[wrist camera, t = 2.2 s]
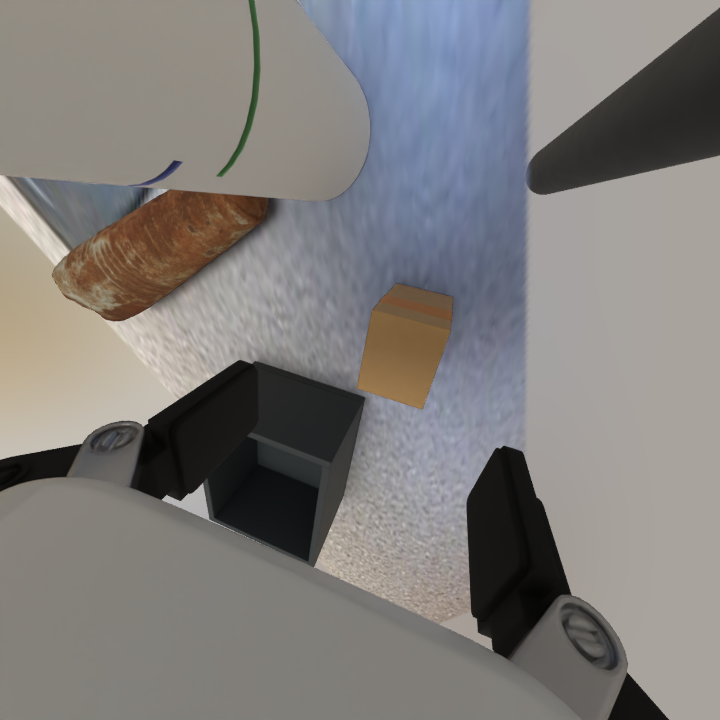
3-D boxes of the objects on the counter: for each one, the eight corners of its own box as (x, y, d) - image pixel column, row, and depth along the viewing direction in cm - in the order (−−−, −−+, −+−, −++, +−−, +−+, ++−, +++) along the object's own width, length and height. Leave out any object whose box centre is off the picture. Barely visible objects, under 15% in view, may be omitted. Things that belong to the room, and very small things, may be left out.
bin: (255, 361, 27) (189, 408, 20) (365, 397, 25) (331, 463, 18) (257, 460, 34) (209, 519, 28) (343, 495, 32) (313, 568, 25)
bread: (108, 251, 27) (31, 259, 22) (256, 145, 19) (186, 120, 14) (148, 313, 29) (86, 333, 24) (297, 242, 21) (249, 249, 16)
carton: (396, 282, 20) (371, 308, 14) (453, 296, 19) (451, 330, 14) (381, 345, 22) (355, 388, 17) (432, 360, 22) (422, 410, 16)
